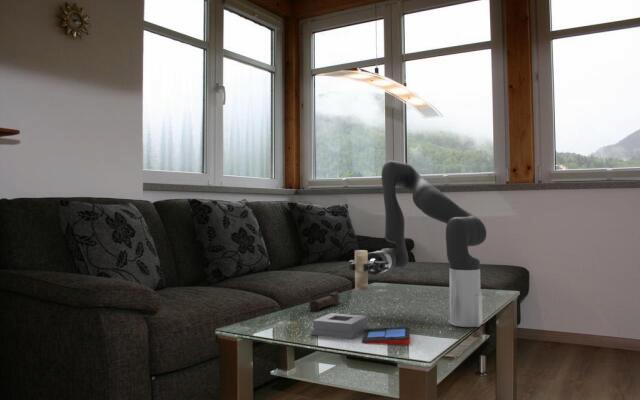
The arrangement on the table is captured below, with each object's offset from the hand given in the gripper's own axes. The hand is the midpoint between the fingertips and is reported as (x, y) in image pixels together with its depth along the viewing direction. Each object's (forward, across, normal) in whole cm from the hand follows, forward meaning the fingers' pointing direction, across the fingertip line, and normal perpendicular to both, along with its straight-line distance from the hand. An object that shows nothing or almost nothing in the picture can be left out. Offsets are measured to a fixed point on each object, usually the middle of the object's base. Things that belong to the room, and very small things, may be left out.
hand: (357, 267), depth 162 cm
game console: (+11, +13, +19) cm, 25 cm away
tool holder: (+10, -2, +18) cm, 20 cm away
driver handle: (-3, 0, +7) cm, 8 cm away
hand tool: (-25, -24, +18) cm, 39 cm away
